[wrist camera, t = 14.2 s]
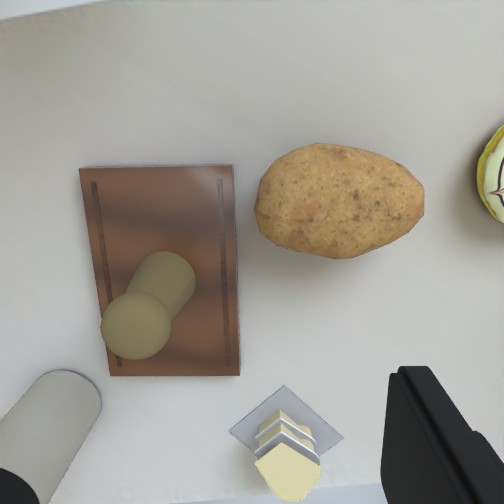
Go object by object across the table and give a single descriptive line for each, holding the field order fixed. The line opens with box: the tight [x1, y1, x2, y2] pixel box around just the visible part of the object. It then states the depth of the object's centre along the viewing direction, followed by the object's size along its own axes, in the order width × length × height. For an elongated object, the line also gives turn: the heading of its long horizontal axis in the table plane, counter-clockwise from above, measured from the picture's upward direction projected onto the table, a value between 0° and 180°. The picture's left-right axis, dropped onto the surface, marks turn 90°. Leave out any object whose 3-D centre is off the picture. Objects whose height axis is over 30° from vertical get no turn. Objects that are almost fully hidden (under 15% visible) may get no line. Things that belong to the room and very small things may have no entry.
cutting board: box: [79, 164, 241, 376], centre depth 40 cm, size 22×14×2 cm, turn 1°
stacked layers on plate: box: [229, 386, 344, 502], centre depth 43 cm, size 10×9×6 cm
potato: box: [254, 143, 424, 259], centre depth 34 cm, size 10×14×8 cm
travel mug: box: [0, 371, 101, 504], centre depth 37 cm, size 8×8×18 cm
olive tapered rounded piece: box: [100, 251, 196, 360], centre depth 34 cm, size 6×6×11 cm
